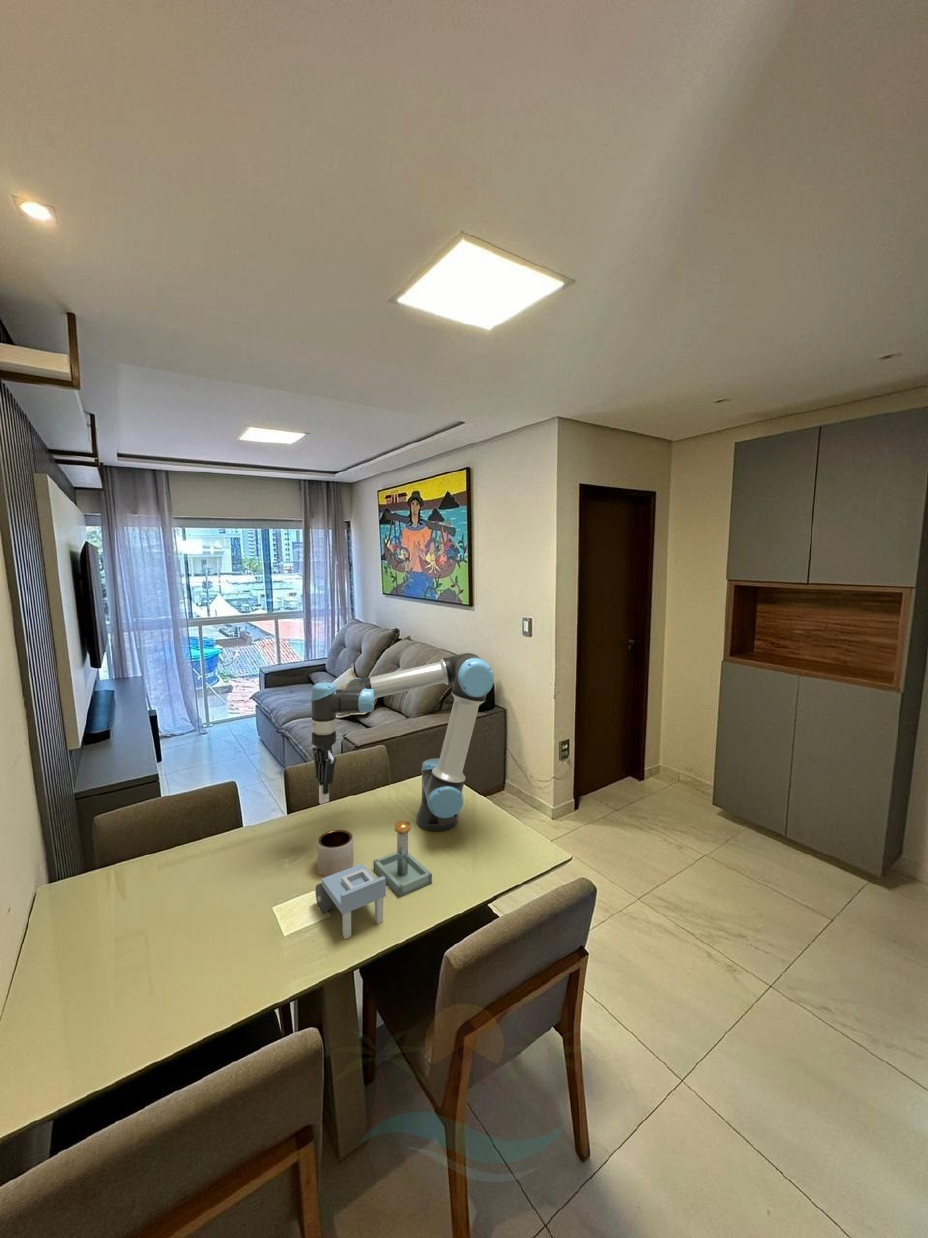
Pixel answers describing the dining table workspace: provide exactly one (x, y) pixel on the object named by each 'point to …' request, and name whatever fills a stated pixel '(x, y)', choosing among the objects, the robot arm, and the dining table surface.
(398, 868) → the orange and grey cylinder
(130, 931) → the dining table surface
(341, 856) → the planter
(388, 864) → the tray
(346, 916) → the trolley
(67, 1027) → the dining table surface
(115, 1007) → the dining table surface
